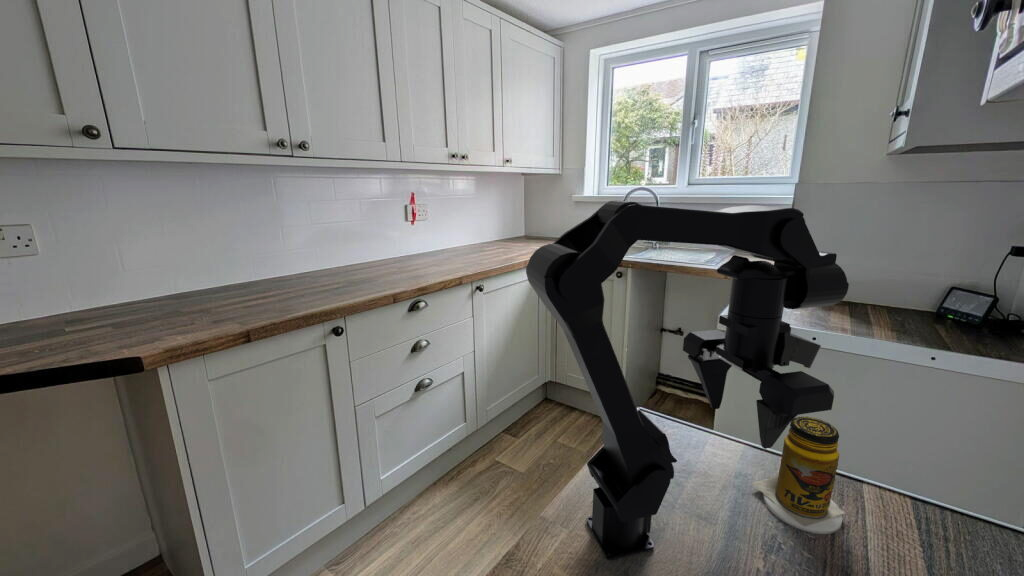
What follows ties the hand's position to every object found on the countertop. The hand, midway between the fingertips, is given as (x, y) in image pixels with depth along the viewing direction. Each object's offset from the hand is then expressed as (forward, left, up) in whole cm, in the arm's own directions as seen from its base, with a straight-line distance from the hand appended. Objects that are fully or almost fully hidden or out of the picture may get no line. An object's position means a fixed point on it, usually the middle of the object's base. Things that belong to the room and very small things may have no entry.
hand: (739, 426), depth 55 cm
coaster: (+10, -2, -13) cm, 17 cm away
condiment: (+10, -1, -12) cm, 16 cm away
